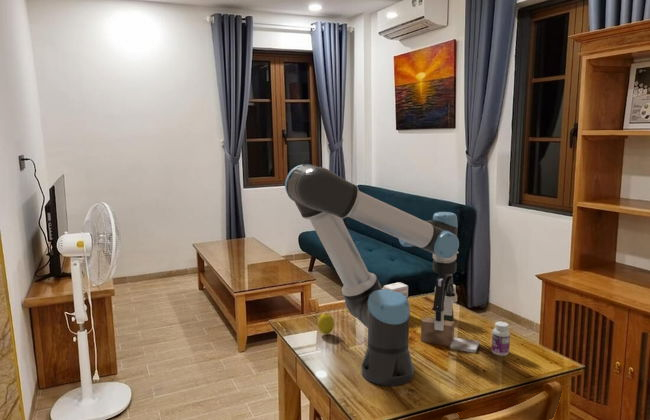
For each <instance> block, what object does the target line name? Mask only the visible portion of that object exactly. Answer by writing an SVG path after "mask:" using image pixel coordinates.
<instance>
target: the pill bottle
mask: <svg viewBox="0 0 650 420" xmlns="http://www.w3.org/2000/svg"><path fill="white" fill-rule="evenodd" d="M509 328H510V327H509V323H508V322H505V321H495V323H494V328H493V329H492V335H491V352H492V353H493V354H494V355H496V356H499V355H500V356H501V357H505V356H507V355H509V354H510V344H511V332H510V329H509Z"/></svg>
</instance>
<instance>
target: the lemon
mask: <svg viewBox="0 0 650 420" xmlns="http://www.w3.org/2000/svg"><path fill="white" fill-rule="evenodd" d="M334 326H335V323H334V318H333V316H332V315H331V314H330V313H327V312H324V313H322V314H320V316H319V317H318V320H317V328H318V330H319V332H320V333H321V334H324V335H325V336H327V335H328V334H331V333H332V331H333V330H334V328H335V327H334Z"/></svg>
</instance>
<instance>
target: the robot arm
mask: <svg viewBox="0 0 650 420" xmlns="http://www.w3.org/2000/svg"><path fill="white" fill-rule="evenodd" d="M284 182H285V183H284V188H285V192H286V194H287V196H288V197H289V198H290V200H292V201H293V202H294V203H295V206H296V207H297V209H298V211H299V213H300V215H301V217H302V218H303V219H305V220H308V221H310V223H311V225H312V227H313V228H314V231H315V232H316V235H317V236H318V238H319V240H320V242H321V244H322V246H323V248H324V249H325V251H326V254H327V255H328V258H329V259H330V261H331V264H332V265H333V268H335V271H336V273H337V275H338V277H339V278H340V281H341V282H342V284H343V286H342V288H341V293H342V295H343V297H344V302H345V303H344V304H345V306H346V308H347V310H348V311H349V313H350V314H351V315H352V316H353V317H355V318H356V319H357V320H359V322H361V323H362V325H364V327H366V328H367V347H366V351H365V354H364V357H363V359H362V362H361V372H360V373H361V375H362V377H363V378H364V379H365V380H366V381H368V382H369V383H373V384H375V385H380V386H387V387H389V386H391V387H394V386H401V385H404V384H407V383H409V382H410V381H412V380H413V378H414V376H415V365H414V363H413V360H412V356H411V354H410V351H409V341H410V339H409V338H410V337H409V334H410V316H411V309H410V301H409V299H407V298H406V297H405V296H404V295H403V294H401V293H399V292H397V291H396V292H394V291H393V290H383V288H382V287H383V286H382V285H381V283H380V281H379V279H378V278H377V275H376V273H375V274H374V273H372V272H370V271H369V270H368V268H367V266H366V264H365V263H364V260H363V258H362V256H361V254H360V252H359V250H358V248H357V246H356V244H355V243H354V240H353V238H352V236H351V234H350V232H349V229H348V228H347V226H346V225H345V222H344V220H343V219H345V218H347V217H348V218H350V219H353V220H354V221H358V222H359V223H361V224H364V225H366V226H369V227H370V228H373V229H375V230H379V231H381V232H383V233H385V234H388V235H389V236H392V237H394V238H397V239H398V242H399V243H400V245H401V246H402V247H406V248H408V247H410V248H412V247H418V248H420V249H422V250H425V251H427V252H429V253H432V259H433V261H432V271H433V273H436V274H438V277H437V278H436V279H435V287H436V288H435V287H434V298H433V304H432V305H433V307H432V308H431V310H432V311H433V312H434V319H435V324H434V330H441V331H443V325H444V315H449V316H452V306H453V304H452V299H453V297H451V296H455V293H454V286H453V284H454V280H453V276H454V275H453V274H455V273H457V265H458V264H457V261H456V260H457V257H458V256H457V255H458V254H459V251H458V250H459V247H460V241H459V238H458V227H459V225H458V216H457V214H456V213H453V212H451V211H438V212H435V213H434V214H433V215H432V219H429V220H423V219H421V218H418V217H417V216H415V215H413V214H410V213H408V212H406V211H403V210H402V209H399V208H397V207H395V206H393V205H391V204H389V203H387V202H384V201H381V200H379V199H377V198H375V197H373V196H371V195H369V194H367V193H364V192H362V191H360V190H359V187H358V185H356V184H354V183H352V182H350V181H348V180H347V179H344V178H343V177H341V176H339V175H338V174H336V173H335V172H333V171H331V170H329V169H327V168H325V167H322V166H316V165H314V164H311V163H305V164H299V165H297V166H295V167H293V168H292V169H291V170H289V172H288V174H287V176H286V179H285V181H284ZM445 295H446V296H445ZM443 306H444V311H443Z"/></svg>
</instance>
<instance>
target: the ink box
mask: <svg viewBox="0 0 650 420" xmlns="http://www.w3.org/2000/svg"><path fill="white" fill-rule="evenodd" d="M382 287H383V288H382V289H383V290H393V291H394V292H396V291H397V292H399V293H401V294H403V295H404V296H405V297H406V298H407V299H408V297H409V285H407V284H405V283H403V282H398V281H397V282H395V283H390V284H385V285H383V286H382ZM408 300H409V299H408Z"/></svg>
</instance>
